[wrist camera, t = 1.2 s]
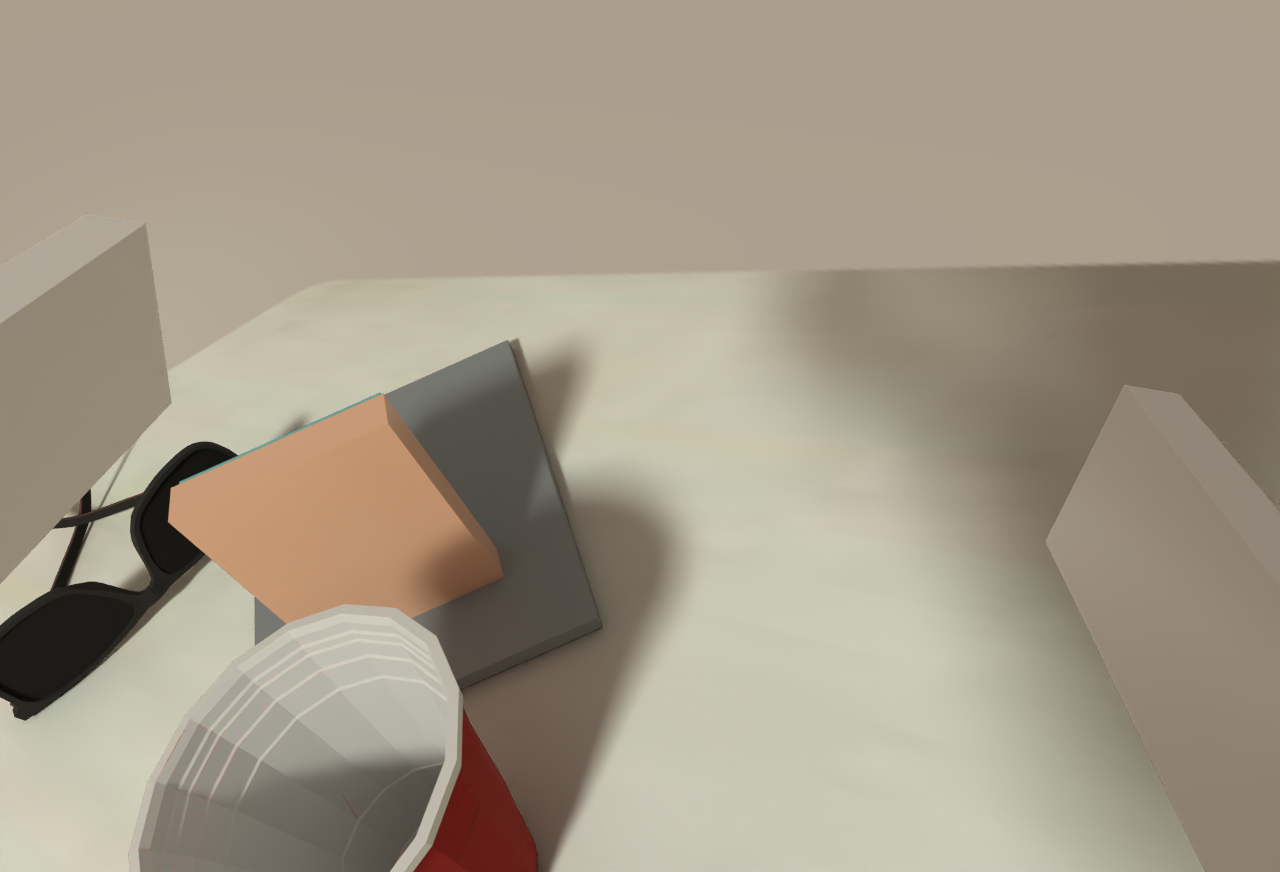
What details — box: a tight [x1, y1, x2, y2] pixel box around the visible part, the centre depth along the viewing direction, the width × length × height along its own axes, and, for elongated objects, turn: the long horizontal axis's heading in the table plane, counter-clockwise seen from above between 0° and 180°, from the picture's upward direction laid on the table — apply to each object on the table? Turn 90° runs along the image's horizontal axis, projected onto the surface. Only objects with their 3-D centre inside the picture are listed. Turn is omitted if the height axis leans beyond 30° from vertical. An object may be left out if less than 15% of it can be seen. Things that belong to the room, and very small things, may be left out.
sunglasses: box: [0, 442, 238, 721], centre depth 51 cm, size 17×14×5 cm
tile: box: [168, 393, 504, 624], centre depth 39 cm, size 9×2×11 cm, turn 108°
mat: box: [255, 340, 602, 690], centre depth 47 cm, size 16×20×1 cm
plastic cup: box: [128, 604, 538, 872], centre depth 31 cm, size 11×11×12 cm
